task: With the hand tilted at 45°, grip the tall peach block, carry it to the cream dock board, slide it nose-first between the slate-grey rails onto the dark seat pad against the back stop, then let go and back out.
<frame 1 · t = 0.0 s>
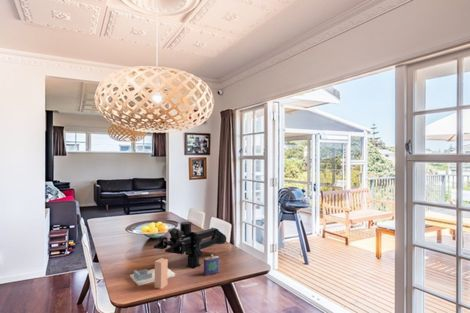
hand: (159, 249, 153), 17 cm above the table, tool horizontal, fingers open, 9 cm apart
flask: (211, 274, 163), on the table
dock: (152, 276, 158), on the table
tall peach block: (161, 286, 147), on the table
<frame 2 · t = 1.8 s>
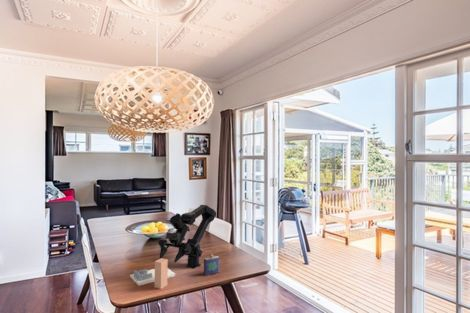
hand: (167, 260, 151), 11 cm above the table, tool tilted 45°, fingers open, 9 cm apart
nothing on the table moved.
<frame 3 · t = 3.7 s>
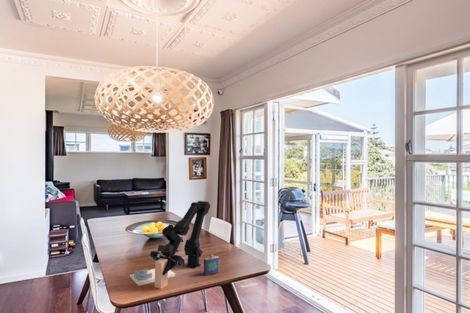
hand: (159, 274, 145), 7 cm above the table, tool tilted 45°, fingers closed on tall peach block, 4 cm apart
tall peach block: (161, 286, 147), on the table, touching gripper
everything else where it was.
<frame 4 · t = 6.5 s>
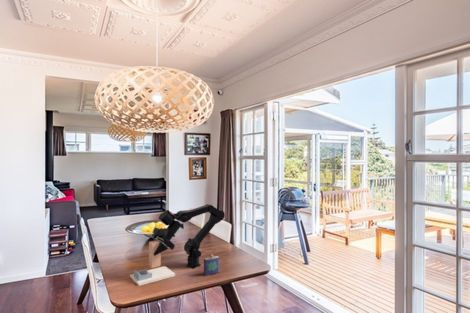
hand: (152, 254, 158), 12 cm above the table, tool tilted 45°, fingers closed on tall peach block, 4 cm apart
tall peach block: (154, 265, 159), point 6 cm above the table, touching gripper
everything else where it was.
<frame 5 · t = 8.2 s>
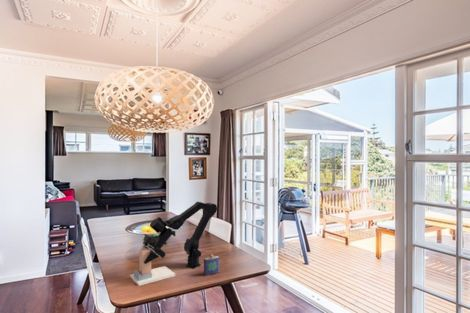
hand: (142, 262, 155), 9 cm above the table, tool tilted 45°, fingers closed on tall peach block, 4 cm apart
tall peach block: (145, 273, 156), point 2 cm above the table, touching gripper
everything else where it was.
when the fingers open (9 cm above the table, at t = 9.5 s): tall peach block stays where it is, resting on dock.
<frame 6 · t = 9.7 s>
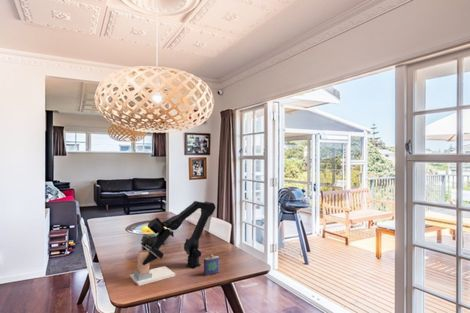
hand: (140, 262, 154), 9 cm above the table, tool tilted 45°, fingers open, 6 cm apart
tall peach block: (143, 276, 155), point 1 cm above the table, touching dock
everything else where it was.
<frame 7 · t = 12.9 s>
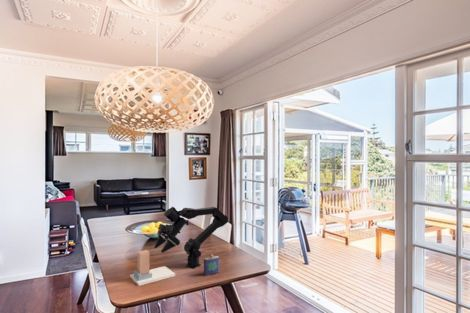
hand: (158, 250, 160), 14 cm above the table, tool tilted 45°, fingers open, 9 cm apart
nothing on the table moved.
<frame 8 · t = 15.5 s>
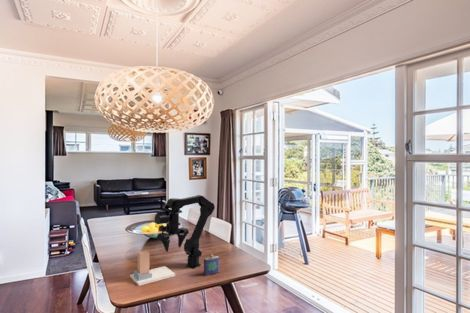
hand: (173, 249, 163), 13 cm above the table, tool pointing down, fingers open, 9 cm apart
nothing on the table moved.
at the end: tall peach block 0.1 cm from the target spot on the dock, point 1.4 cm above the dock's base; tall peach block tilted 0°; the gripper is holding nothing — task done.
